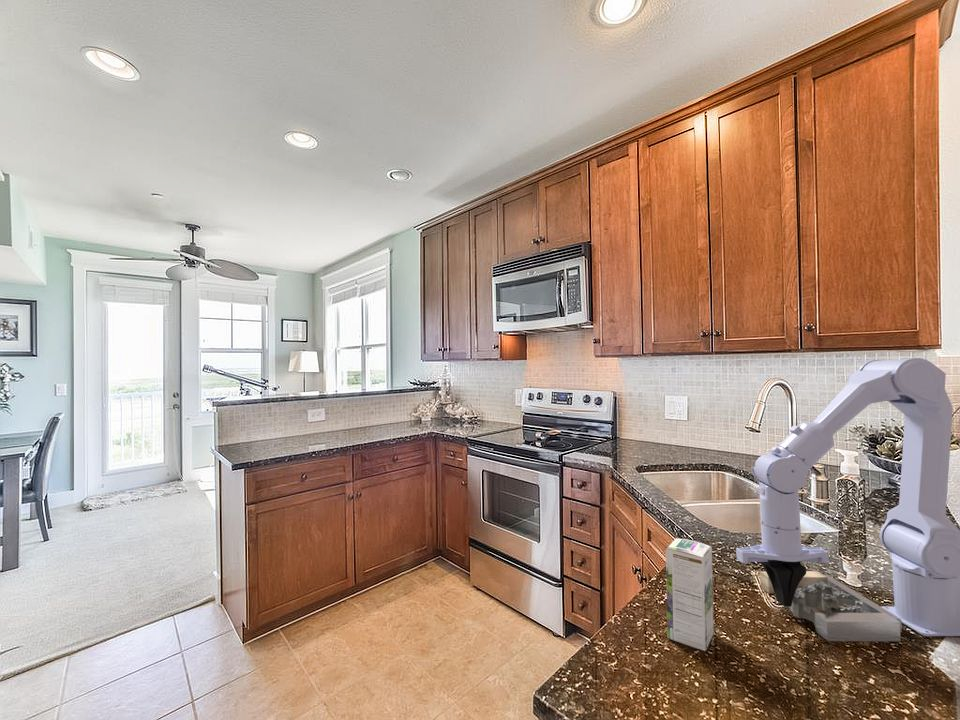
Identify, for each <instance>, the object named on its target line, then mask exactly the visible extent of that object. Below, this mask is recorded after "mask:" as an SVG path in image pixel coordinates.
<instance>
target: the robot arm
mask: <svg viewBox="0 0 960 720" xmlns="http://www.w3.org/2000/svg"><path fill="white" fill-rule="evenodd" d="M946 375H947V374H946V372H945V371H943V370H942V369H941V368H939V367H938V366H936V365H935V364H934V363H932V362H931V361H929V360H927V359H924V358H922V357H921V358H920V357H913V358H905V359H884V360H883V359H872V360H867V361H866V362H864V363H863V364H862V365H860V366H859V369H858V370H856V371H854V372H853V373H852V374H850V376H849V377H848V378H849V379H848V381H847V383H846V384H845V386H844V387H843V388H842V389H841V390H840V391H839V392H838V394H837V395H836V396H835V397H834V398H833V399H832V400H831V402H829V403H828V404H827V406H826V407H825V408H824V409H823V410H822V411H821V412H820V414H818V416H817V417H816V418H815V419H814V420H813V421H812V422H802V423H799V424H798V425H795V424H794V425H792V426H791V427H790V428H789V429H788V431H789V432H790V433H789V434H788V435H787V436H785V438H784V439H783V440H782V441H781V442H780V443H779V444H778V445H776V446H772V447H771V448H770V452H771V453H766V454H762V455H760V456H759V457H758V458H757V459H756V461H755V462H754V466H753V467H751V473H752V475H753V477H754V479H755V480H756V481H757V482H758V488H759V489H758V490H759V491H758V492H759V514H760V530H761V531H760V532H761V533H760V534H761V543H760V544H757V545H756V544H755V545H751V546H746V547H736V548H735V551H736V553H735V554H736V559H737V560H738V561H739V562H740V563H742V564H745V565H746V564H749V563H752V562H753V563H757V562H758V563H760V564H761V566H762V568H763V569H764V571H766V573H767V575H768V577H769V579H770V581H771V584H772V586H773V589H774V592H775V593H774V596H775V600H776V601H777V603H779V604H780V605H781V606H783V607H790V606H792V602H793V598H794V594H795V591H796V589H797V586H798V584H799V583H800V581H801V579H802V578H803V577H804V576H805V574H806V571H807V567H806V566H804V565H802V564H801V562H809V563H810V562H820V563H821V564H829V563H830V562H829V552H828V551H827V550H825V549H823V548H821V547H817V546H816V547H814V546H802V532H801V531H802V530H801V511H800V495H799V493H800V492H799V491H800V489H802V488H804V487H805V485H806V484H807V479H808V478H807V477H808V475H807V474H808V473H809V471H810V469H811V468H812V467H814V465H815V464H817V463H818V462H819V461H820V460H821V459H822V458H823V457H824V456H825V455H826V454H827V453H828V452H829V451H831V449H832V448H834V446H835V439H834V435H835V434H837V432H838V431H840V430H841V429H842V428H844V427H845V426H846V425H847V424H848V423H849V422H851V421H852V420H853V419H854V418H855V417H857V416H858V415H859V414H860V413H861V412H863V411H864V410H865V409H866V408H867V407H868V406H869V405H872V404H876V403H884V402H888V403H890V404H891V405H892V406H894V407H895V409H897V410H899V411H900V412H901V413H902V414H903V415H904V427H903V439H902V441H903V442H902V452H901V453H902V454H901V455H902V456H901V471H900V485H899V497H898V498H899V500H898V504H897V505H896V506H895V507H893V508H890V509H889V510H888V511H887V513H886V519H885V521H884V523H883V525H882V526H881V528H880V531H879V539H880V543H881V545H882V546H883V547H884V549H885V550H886V551H888V552H889V559H890V560H891V567H892V568H891V569H892V581H893V582H892V583H893V584H892V585H893V599H894V600H893V601H894V603H893V605H894V606H886V605H885V606H883V605H882V606H880V607H882V608H884V609H885V610H887V611H889V612H890V613H892V614H894V615H895V616H897V617H899V618H900V619H901V622H902V624H903V625H905V626H907V627H908V628H910V629H912V630H914V632H917V633H918V634H920V635H921V636H924V637H960V529H959V528H958V526H956V524H955V523H954V522H953V521H952V520H951V519H950V518H949V517H948V515H947V503H948V502H947V499H948V483H949V474H950V473H949V470H950V456H951V452H950V451H951V441H952V440H951V439H952V425H953V423H952V422H953V411H954V410H953V404H952V402H951V400H950V397H949V395H948V393H947V391H946Z"/></svg>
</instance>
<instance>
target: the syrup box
mask: <svg viewBox="0 0 960 720" xmlns="http://www.w3.org/2000/svg"><path fill="white" fill-rule="evenodd" d="M712 553H713V547H712V546H711V545H708V544H705V543H702V542H698V541H695V540H691V539H686V538H678V537H677V538H675V539H674V540H673V541H672V542H671V544H669V545H668V547H666V549H665V574H666V575H665V577H666V578H665V581H666V582H665V583H666V584H665V585H666V586H665V587H666V626H667V627H666V633H667V634H666V636H667V638H668V639H669V640H672V641H673V642H678V643H680V644H683V645H686V646H687V647H688V646H689V647H692V648H694V649H698V650H700V651H704V652H707V651H708V648H709V646H710V643H711V641H712V638H713V637H714V636H715V635H714V633H715V621H714V579H713V577H714V576H713V554H712Z"/></svg>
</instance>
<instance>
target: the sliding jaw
mask: <svg viewBox="0 0 960 720" xmlns="http://www.w3.org/2000/svg"><path fill="white" fill-rule="evenodd" d="M759 574H760V576H759V579H760V588H761V589H762V590H764V591H765V592H766V593H768V594H775V592H774V589H773V586H772V584H771V581H770V579H769V577H768V575H767V573H766V571H765V570H763V571H759ZM825 575H826V574H823V573H821V572H819V571H817V570H815V571H814V570H811V571H810V570H806V574H805V576H804V577H803V578H802V579H801V581H800V583H799V584H798V586H797V589H798V588H802V587H803V586H805V585H806V586H807V587H808V586H809V585H813V584H815V583H817V582H818V581H820V580H821V581H822V582H824V583H826V584H827V585H828V577H826V576H825Z"/></svg>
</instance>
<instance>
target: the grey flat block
mask: <svg viewBox="0 0 960 720" xmlns="http://www.w3.org/2000/svg"><path fill="white" fill-rule="evenodd" d="M824 575H825V576H826V577H828V586H830V587H832V588H833V587H835V588H836V589H838V590H840V591H843V592H844V593H845V594H850V595H851V596H852V598H853V599H854V600H856V601H859V600H861V601H862V602H863V604H862V607H863V608H861V607H860V610H859V613H815V625H816V627H815V633H817V634H818V635H819V636H820V637H822V638H823V639H824V640H825V641H826V642H901V641H902V640H901V633H903V626H902V624H903V623H902V622H901V619H900V618H899V617H897V616H895V615H894V614H892V613H890V612H889V611H887V610H885V609H884V608H882V607H881V606H880V605H878V604H877V603H875V602H873V601H872V600H871V599H868V598H867V597H865V596H864V595H862V594H860V593H859V592H857V591H856V590H854V589H852V588H850V587H848V586H847V585H846V584H844V583H842V582H840V581H838V580H837V579H835V578H834V577H832V576H831V575H829V574H824Z"/></svg>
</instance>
